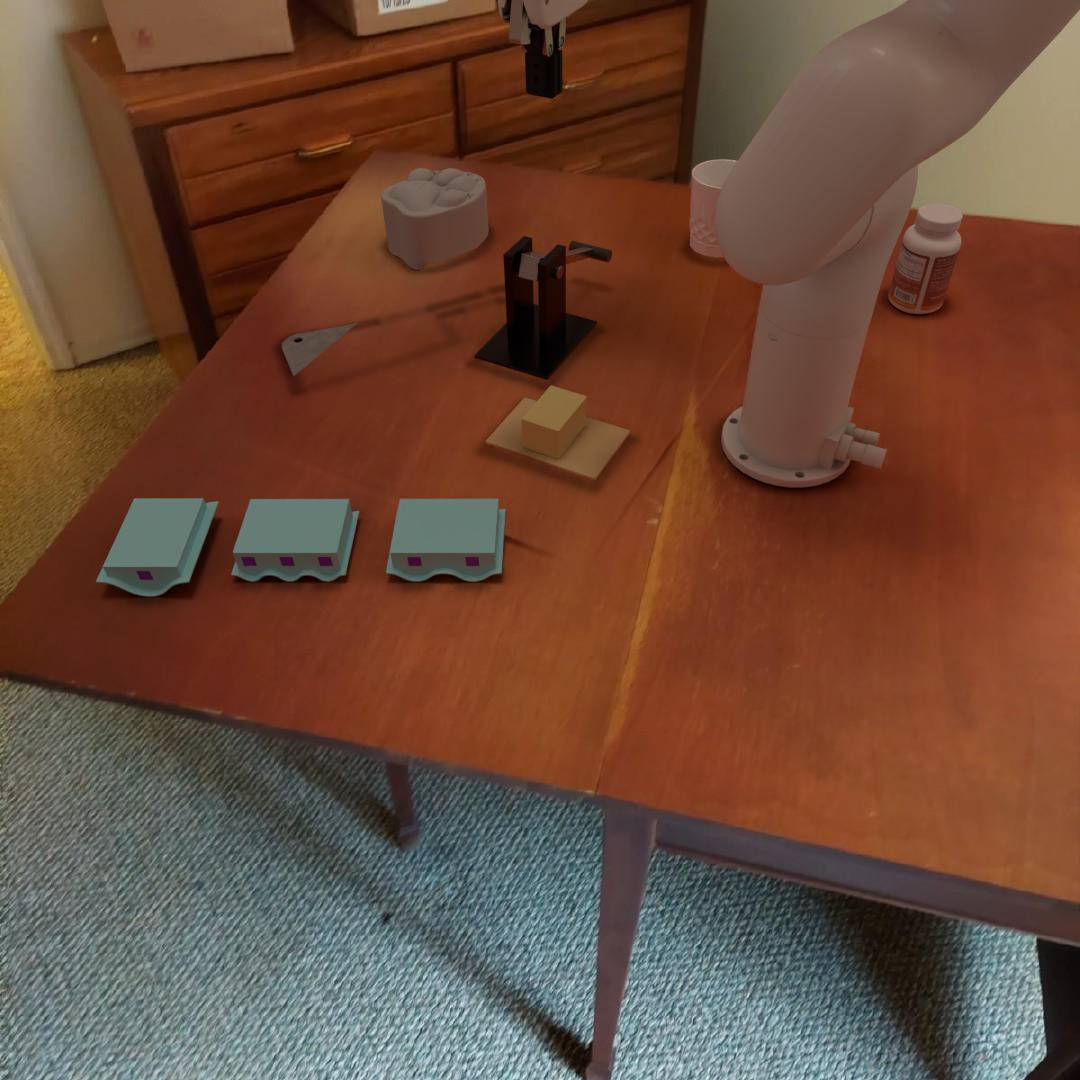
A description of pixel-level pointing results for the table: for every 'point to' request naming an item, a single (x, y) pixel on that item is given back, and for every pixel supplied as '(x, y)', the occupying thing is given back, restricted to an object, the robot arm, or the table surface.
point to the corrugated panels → (303, 541)
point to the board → (579, 458)
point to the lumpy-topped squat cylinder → (435, 215)
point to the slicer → (535, 317)
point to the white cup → (706, 204)
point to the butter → (554, 422)
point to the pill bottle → (926, 259)
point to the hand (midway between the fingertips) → (544, 93)
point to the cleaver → (310, 346)
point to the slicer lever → (574, 254)
